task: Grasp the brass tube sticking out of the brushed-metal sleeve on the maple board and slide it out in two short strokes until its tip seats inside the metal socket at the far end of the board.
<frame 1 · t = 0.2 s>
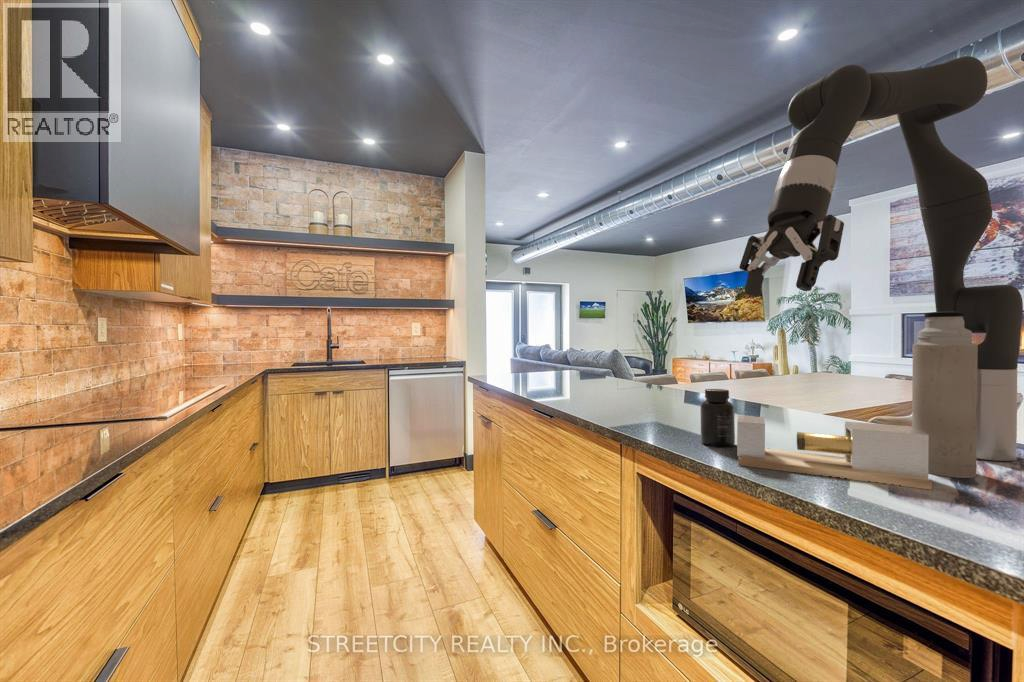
hand: (775, 292, 64), 31 cm above the counter, tool tilted 20°, fingers open, 8 cm apart
base board: (822, 468, 77), on the counter
sleeve socket: (821, 442, 77), on the base board, point 5 cm above the counter
thermos bottle: (942, 471, 75), on the counter
supplement bottle: (717, 444, 94), on the counter
tube: (851, 446, 75), point 5 cm above the counter, slide at 0.0 cm
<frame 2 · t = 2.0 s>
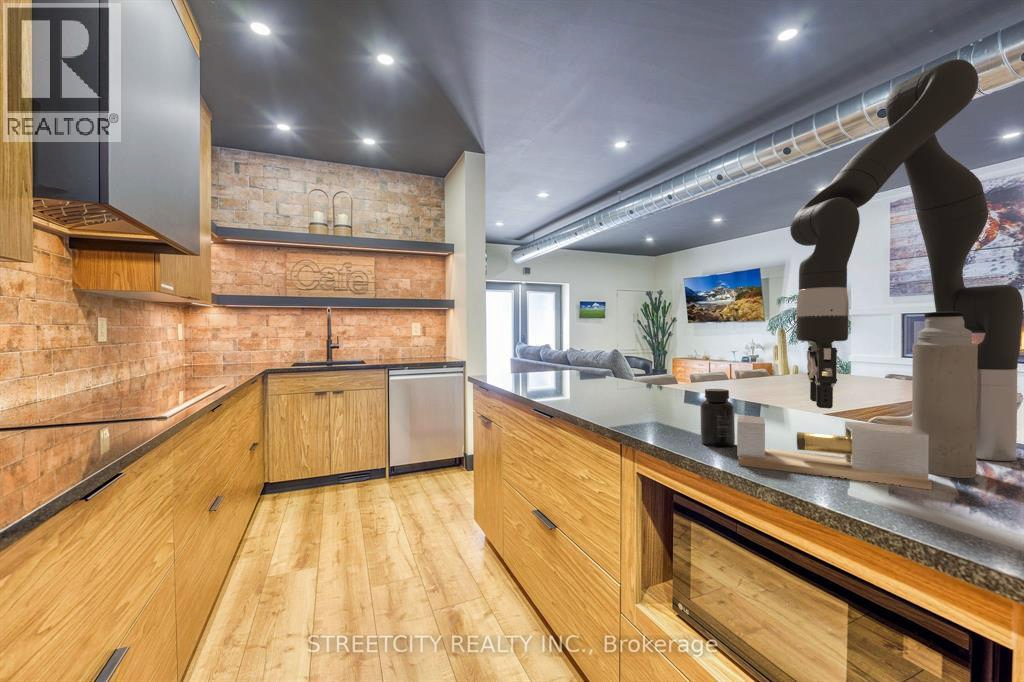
hand: (820, 404, 77), 12 cm above the counter, tool pointing down, fingers open, 8 cm apart
nothing on the counter moved.
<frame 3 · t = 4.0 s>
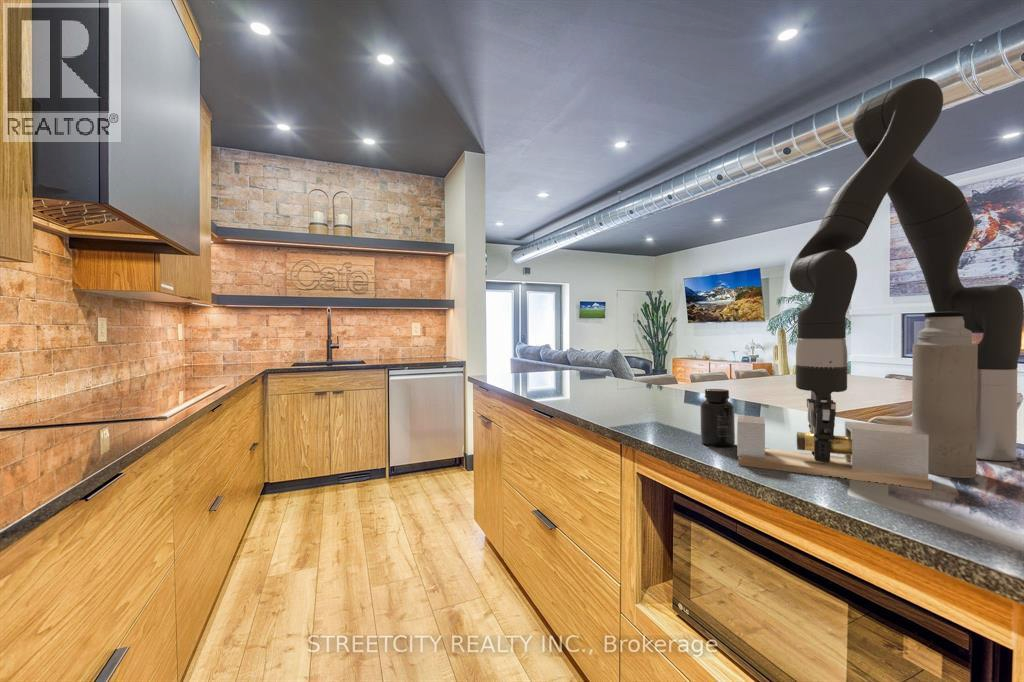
hand: (820, 458, 77), 2 cm above the counter, tool pointing down, fingers closed on tube, 3 cm apart
tube: (851, 446, 75), point 5 cm above the counter, slide at 0.0 cm, touching gripper
everything else where it was.
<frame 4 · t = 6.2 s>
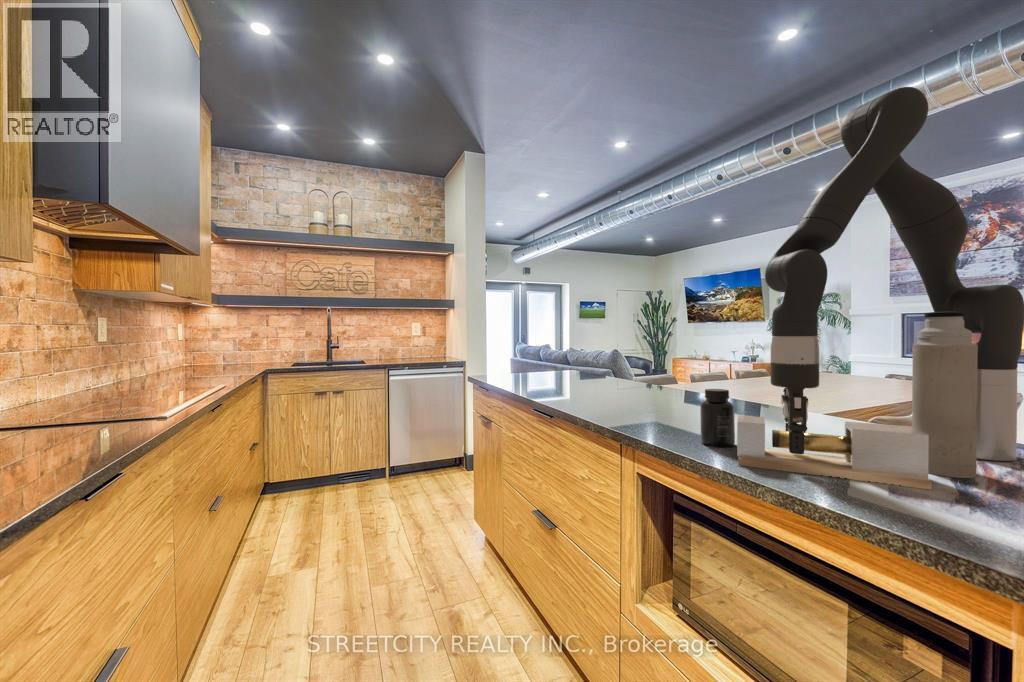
hand: (794, 447, 79), 3 cm above the counter, tool pointing down, fingers open, 8 cm apart
tube: (824, 443, 77), point 4 cm above the counter, slide at 3.9 cm
everything else where it was.
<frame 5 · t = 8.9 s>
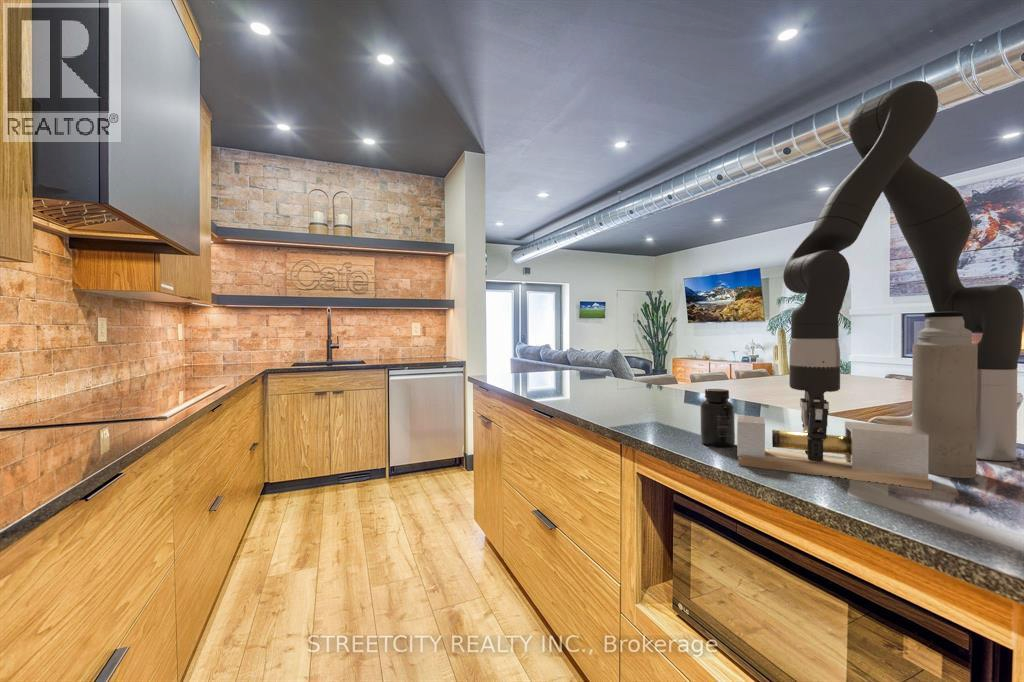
hand: (813, 457, 78), 2 cm above the counter, tool pointing down, fingers closed on tube, 3 cm apart
tube: (824, 443, 77), point 4 cm above the counter, slide at 3.9 cm, touching gripper
everything else where it was.
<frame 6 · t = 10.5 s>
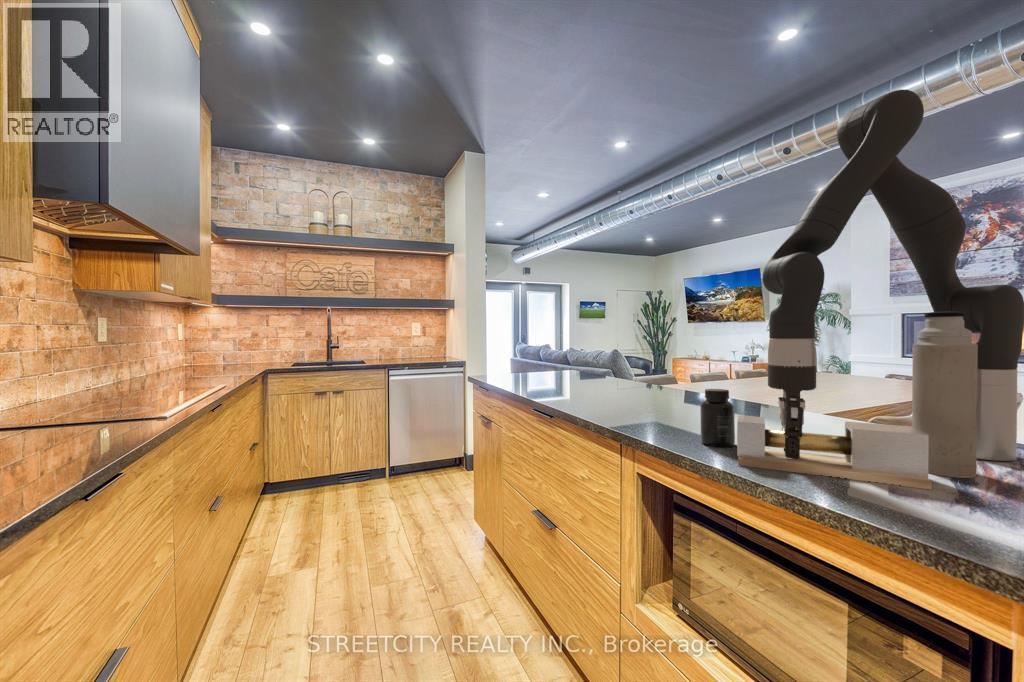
hand: (791, 454, 79), 2 cm above the counter, tool pointing down, fingers closed on tube, 3 cm apart
tube: (801, 441, 78), point 4 cm above the counter, slide at 7.4 cm, touching gripper
everything else where it was.
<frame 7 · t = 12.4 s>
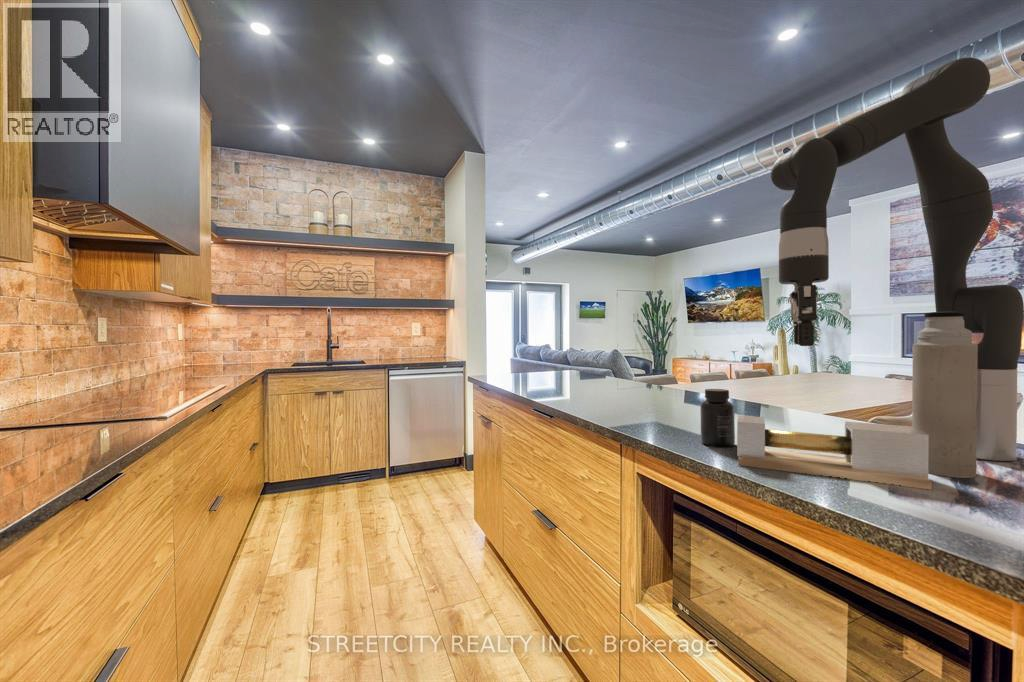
hand: (803, 345, 78), 22 cm above the counter, tool pointing down, fingers open, 8 cm apart
tube: (801, 441, 78), point 4 cm above the counter, slide at 7.4 cm
everything else where it was.
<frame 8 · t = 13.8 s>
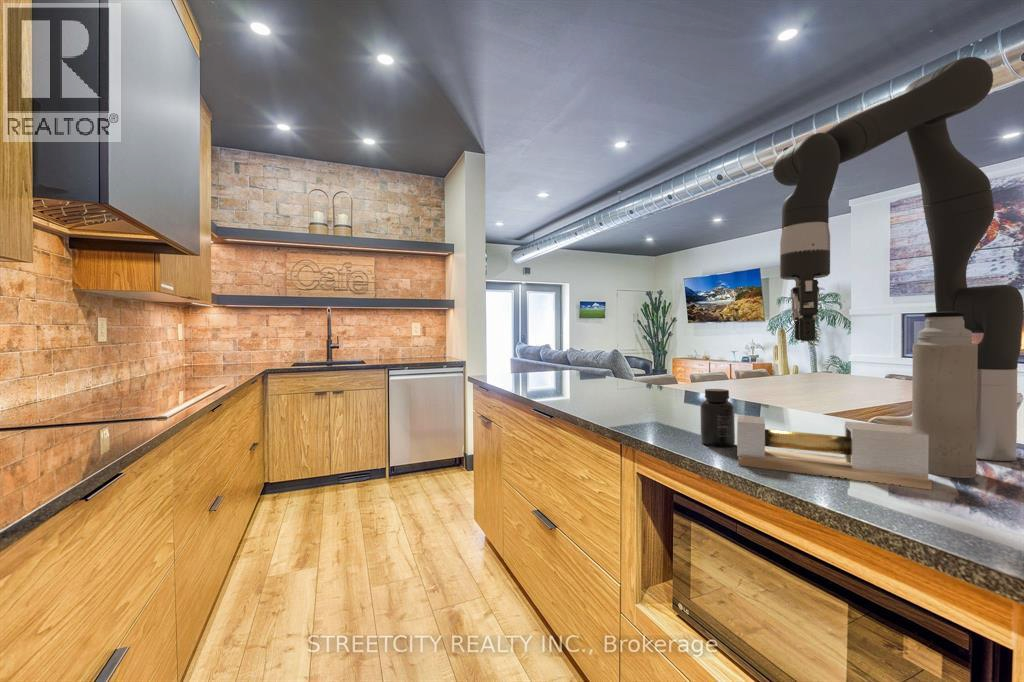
hand: (804, 340, 78), 23 cm above the counter, tool pointing down, fingers open, 8 cm apart
nothing on the counter moved.
at the end: tube slide at 7.4 cm; the gripper is holding nothing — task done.
